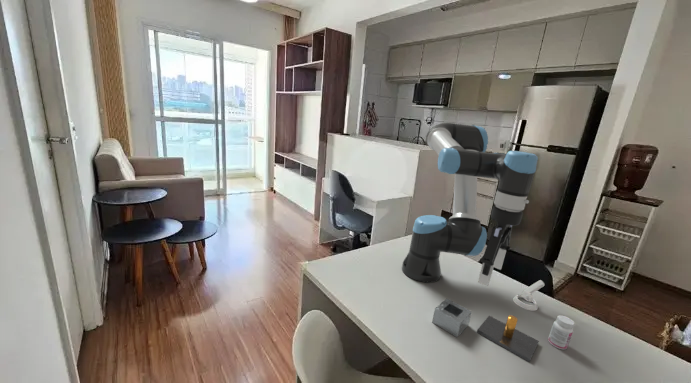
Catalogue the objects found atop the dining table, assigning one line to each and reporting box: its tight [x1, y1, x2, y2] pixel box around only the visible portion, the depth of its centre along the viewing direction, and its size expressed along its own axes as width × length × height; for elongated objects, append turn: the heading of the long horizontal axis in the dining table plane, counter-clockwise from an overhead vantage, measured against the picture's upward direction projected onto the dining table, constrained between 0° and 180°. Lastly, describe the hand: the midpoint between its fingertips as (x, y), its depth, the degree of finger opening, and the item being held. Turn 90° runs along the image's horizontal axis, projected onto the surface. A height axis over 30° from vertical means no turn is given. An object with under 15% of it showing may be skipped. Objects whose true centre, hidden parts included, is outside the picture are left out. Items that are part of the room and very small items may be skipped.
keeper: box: [476, 314, 540, 363], centre depth 86 cm, size 14×10×7 cm
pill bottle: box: [547, 314, 575, 351], centre depth 85 cm, size 5×5×8 cm
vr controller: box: [512, 279, 545, 312], centre depth 104 cm, size 8×12×7 cm
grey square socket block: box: [431, 298, 472, 338], centre depth 89 cm, size 8×8×5 cm
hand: (490, 275), depth 87 cm, fingers open, 13 cm apart
